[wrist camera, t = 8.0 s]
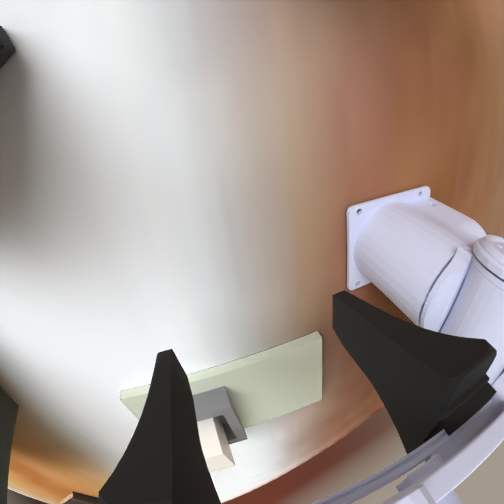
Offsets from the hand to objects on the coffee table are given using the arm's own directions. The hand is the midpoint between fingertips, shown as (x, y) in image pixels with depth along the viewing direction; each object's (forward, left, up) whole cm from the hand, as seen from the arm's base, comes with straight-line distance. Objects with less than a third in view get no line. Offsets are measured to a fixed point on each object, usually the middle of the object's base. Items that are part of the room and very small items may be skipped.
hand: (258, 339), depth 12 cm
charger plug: (+7, +18, -8) cm, 21 cm away
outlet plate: (+3, +18, -9) cm, 21 cm away
